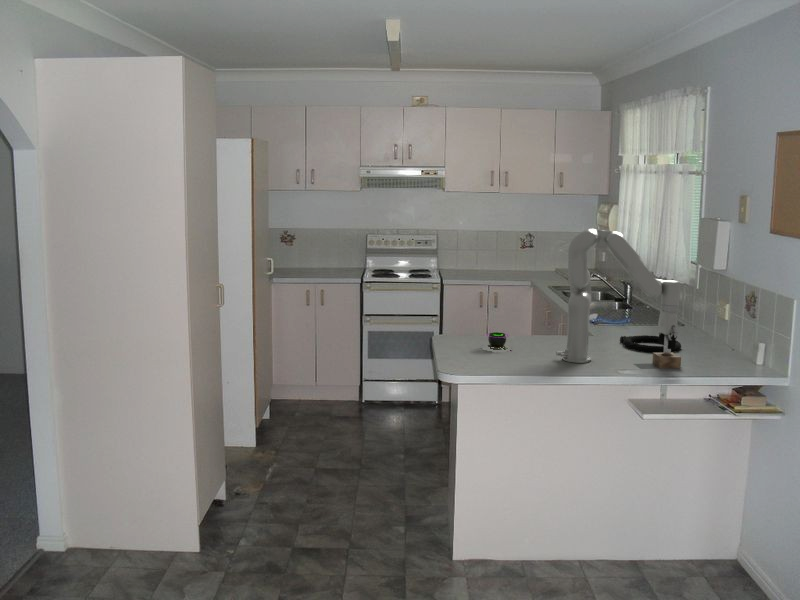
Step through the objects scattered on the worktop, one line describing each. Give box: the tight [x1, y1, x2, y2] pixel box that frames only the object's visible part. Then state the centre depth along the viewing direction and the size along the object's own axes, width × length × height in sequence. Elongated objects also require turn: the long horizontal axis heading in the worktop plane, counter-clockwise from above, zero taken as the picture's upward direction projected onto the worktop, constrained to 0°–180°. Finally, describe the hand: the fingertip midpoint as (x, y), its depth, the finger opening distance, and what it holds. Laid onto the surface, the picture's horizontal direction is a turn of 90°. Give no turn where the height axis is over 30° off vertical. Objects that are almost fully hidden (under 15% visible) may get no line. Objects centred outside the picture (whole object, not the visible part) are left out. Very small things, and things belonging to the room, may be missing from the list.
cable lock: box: [619, 334, 682, 354], centre depth 389 cm, size 28×4×30 cm
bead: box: [651, 352, 682, 369], centre depth 349 cm, size 9×9×5 cm
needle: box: [663, 335, 672, 356], centre depth 348 cm, size 3×3×14 cm
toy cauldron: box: [485, 328, 510, 350], centre depth 381 cm, size 15×15×11 cm
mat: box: [633, 363, 683, 370], centre depth 349 cm, size 19×9×1 cm, turn 95°
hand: (666, 346), depth 348 cm, fingers open, 9 cm apart
